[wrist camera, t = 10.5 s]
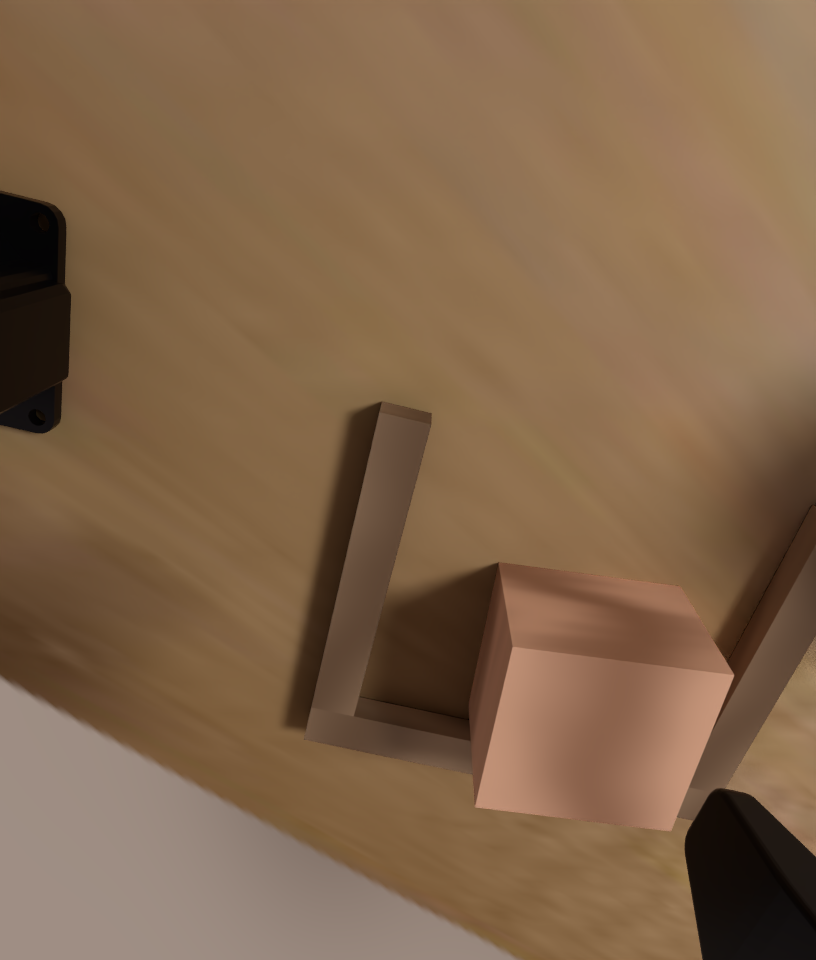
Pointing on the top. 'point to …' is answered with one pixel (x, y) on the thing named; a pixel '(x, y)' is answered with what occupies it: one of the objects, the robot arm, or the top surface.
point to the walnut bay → (446, 740)
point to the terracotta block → (591, 697)
